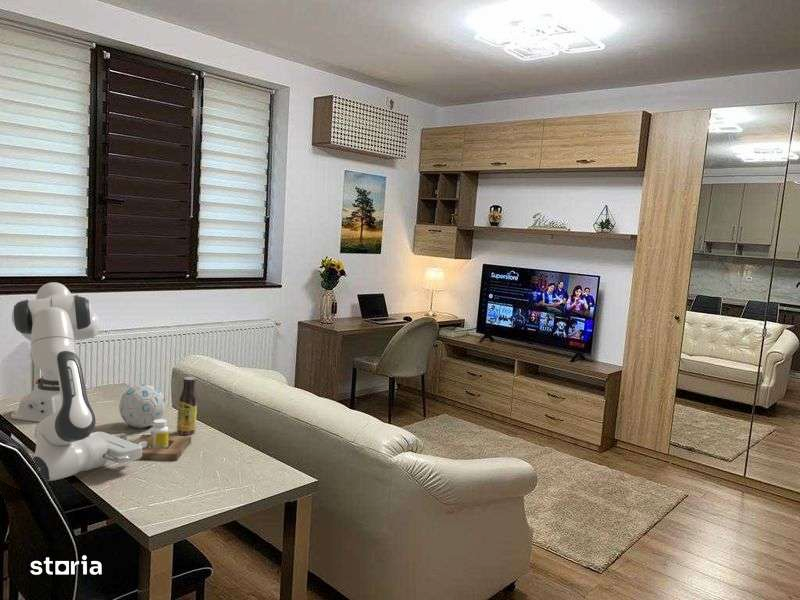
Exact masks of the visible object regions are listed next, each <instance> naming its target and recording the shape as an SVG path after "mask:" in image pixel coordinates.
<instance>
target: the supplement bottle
mask: <svg viewBox="0 0 800 600" xmlns="http://www.w3.org/2000/svg"><path fill="white" fill-rule="evenodd" d="M169 432H170V429H169V427H168V426H167V420H166V419H164V418H160V419H156V420H154V421H153V424H152V428H150V435H151V441H150V447H149V448H161V449H168V448H169V446H168V437H169V436H170V435H169V434H170V433H169Z"/></svg>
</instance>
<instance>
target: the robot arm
mask: <svg viewBox="0 0 800 600" xmlns="http://www.w3.org/2000/svg"><path fill="white" fill-rule="evenodd" d="M11 322H12V324H13V327H15V330H16V331H18V333H20V334H21V336H23V337H24V338H25V339H26V340H28V341H30V345H31V346H30V349H31V358H32V360H33V363H34V366H36V368H38V369H39V370H40V371H42V376H41V378H38V379H37V380H36V381H34V382H35V383H34V385H37V387H36V388H34V389H33V390H31V391H30V392H29V393H27V394H26V395H25V396H23V397H22V398H21V400H20V401H19V404H18V407H17V409H16V410H14V411H13V412H11V414H10V419H13V420H18V421H19V420H20V421H27V422H28V421H30V422H38V423H37V425H36V427H35V430H34V436H35V438H34V439H35V441H36V443H35V451H34V454H33V455H32V458H31V460H32V459H33V460H34V462H35V464H36V465H37V467H38V468H39V470H40V472H41V474H42V475H43V476H44V478H45V479H46V481H47V482H51V481H57V480H61V479H64V478H68V477H72V476H75V475H76V474H78V473H80V472H86V471H87V472H88V471H90V470H92V469H94V470H95V469H96V468H99V467H102V466H104V465H105V464H106V463H107V461H108V460H109V461H112V462H114V463H118V464H124V463H129V462H133V461H137V460H140V459H139V458H141V457H142V448H145V447H147V442H146V441H139V444H135V443H134V442H131V441H129V440H127V439H128V434H126V433H119V434H118V433H115V434H110V433H108V432H105V431H94V429H95V427H96V415H95V412H94V410H93V408H92V406H91V405H90V402H89V399H88V395H87V389H86V384H85V380H84V379H85V378H84V372H83V368H82V367H83V366H82V363H81V361H80V358H79V356H78V355H77V353H76V348H75V347H76V345H75V341H81V340H88V339H93V338H95V337H97V335H98V334H99V332H100V330H101V327H102V326H101V325H102V322H101V319H100V317H99V316H98V314H97V313H96V312H95V311H94V308H93V306H92V304H91V302H90V300H89V299H87V298H86V297H83V296H79V295H77V294H74V295H72V293H71V291H70V290H69V289H68V288H67V287H66V285H64V284H62V283H60V282H56V281H55V282H48V283H45V284H43V285H42V286H40V288H39V289H38V290H37V293H36V297H35V299H31V300H29V299H26V300H21V301H17V302H16V304H15V305H14V306H13V309H12V312H11Z"/></svg>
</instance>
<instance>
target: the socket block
mask: <svg viewBox="0 0 800 600" xmlns="http://www.w3.org/2000/svg"><path fill="white" fill-rule="evenodd" d="M139 441H146V442H147V447H145V448H142V457H141V458H139V459H138V460H156V461H157V460H161V461H178V460H179V459H180V457H181V456H182V455H183V453H185V451H186V450H187V449H188V447H189V446H191V444H192V436H186V435H181V436H180V435H169V437H168V449H161V448H150V441H151V434H142V435H141V436H139V438H138V439H136V440H135V441H134V442H133V443H135V444H139Z"/></svg>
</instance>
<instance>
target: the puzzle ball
mask: <svg viewBox="0 0 800 600" xmlns="http://www.w3.org/2000/svg"><path fill="white" fill-rule="evenodd" d="M118 407H119V409H118V410H119V414H120V416H121V418H122V420H123V422H125V423H126V424H128V425H129V426H131V427H134V428H139V429H140V428H141V429H143V428H147V427H150V426H153V421H154V420H156V419H162V418H161V417H162V416H163V415H164V413H165V410H166V409H165V408H166V399H165V397H164V395H163V393H162V392H161V391H160V390H159V389H158V388H157V387H155V386H153V385H150V384H139V385H136V386H132V387H130V388H128V390H126V392H124V393H123V394H122V396H121V399H120V402H119V406H118Z"/></svg>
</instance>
